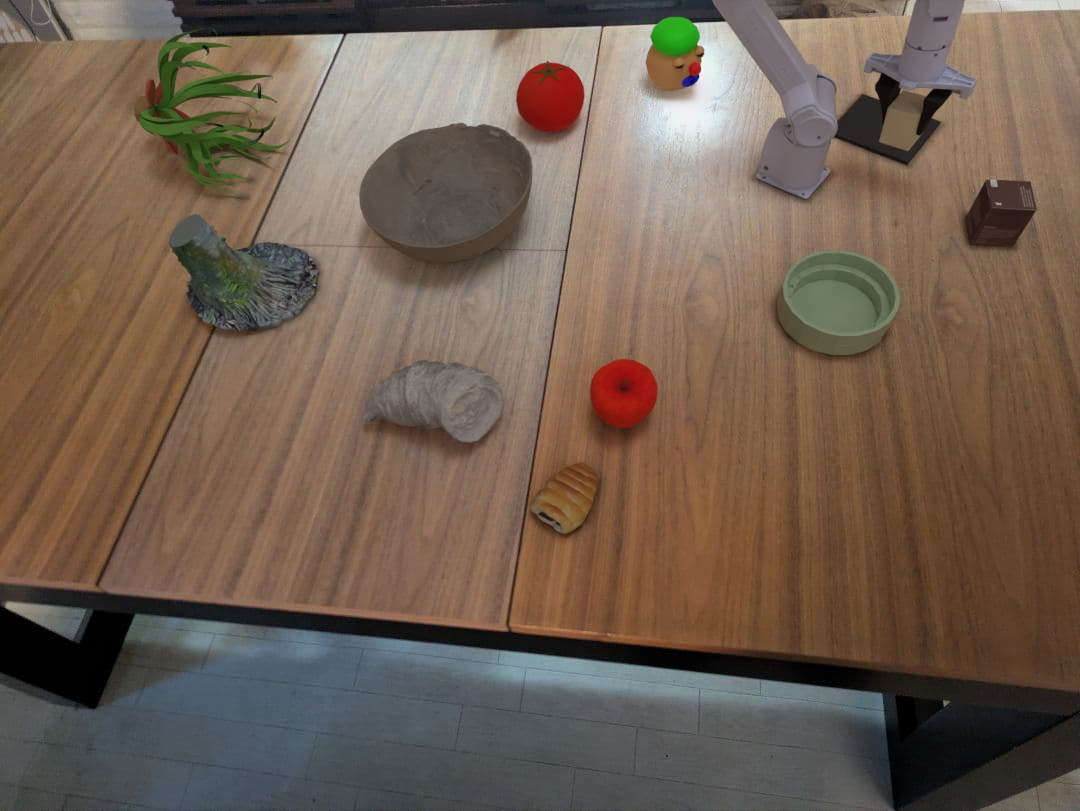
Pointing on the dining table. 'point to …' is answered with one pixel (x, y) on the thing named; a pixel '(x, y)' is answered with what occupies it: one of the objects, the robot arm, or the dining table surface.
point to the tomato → (550, 97)
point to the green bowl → (837, 302)
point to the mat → (875, 130)
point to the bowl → (448, 191)
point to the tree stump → (242, 278)
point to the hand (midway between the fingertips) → (903, 126)
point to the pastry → (567, 497)
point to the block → (903, 120)
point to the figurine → (674, 54)
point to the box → (1000, 212)
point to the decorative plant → (178, 124)
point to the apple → (623, 393)
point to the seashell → (438, 399)
